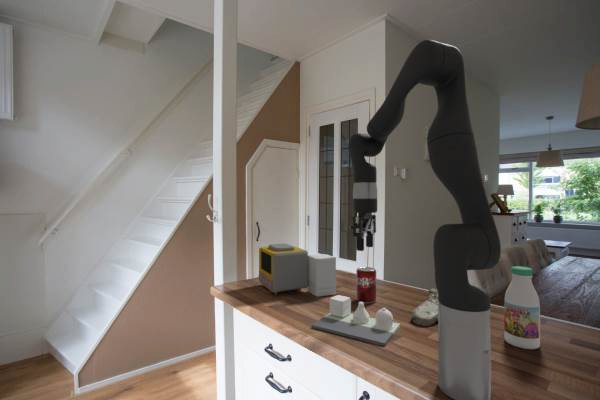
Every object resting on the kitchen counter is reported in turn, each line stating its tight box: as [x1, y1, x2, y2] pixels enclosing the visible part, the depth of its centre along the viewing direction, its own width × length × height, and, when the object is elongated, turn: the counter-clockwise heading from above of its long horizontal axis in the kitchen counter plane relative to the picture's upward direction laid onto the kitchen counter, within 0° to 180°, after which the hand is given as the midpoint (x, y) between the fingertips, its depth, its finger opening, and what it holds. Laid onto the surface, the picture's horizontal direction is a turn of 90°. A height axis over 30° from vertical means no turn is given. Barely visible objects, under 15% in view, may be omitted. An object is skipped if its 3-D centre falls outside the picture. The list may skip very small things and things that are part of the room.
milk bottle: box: [503, 265, 541, 350], centre depth 83 cm, size 8×8×20 cm
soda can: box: [355, 266, 377, 305], centre depth 117 cm, size 7×7×12 cm
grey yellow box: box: [258, 243, 309, 296], centre depth 133 cm, size 20×16×18 cm
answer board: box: [311, 312, 401, 347], centre depth 93 cm, size 22×15×1 cm
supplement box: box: [307, 253, 337, 298], centre depth 127 cm, size 9×9×15 cm
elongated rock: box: [410, 287, 438, 327], centre depth 108 cm, size 35×5×10 cm
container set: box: [329, 294, 394, 330], centre depth 96 cm, size 20×5×6 cm, turn 52°
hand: (365, 248), depth 99 cm, fingers open, 8 cm apart
